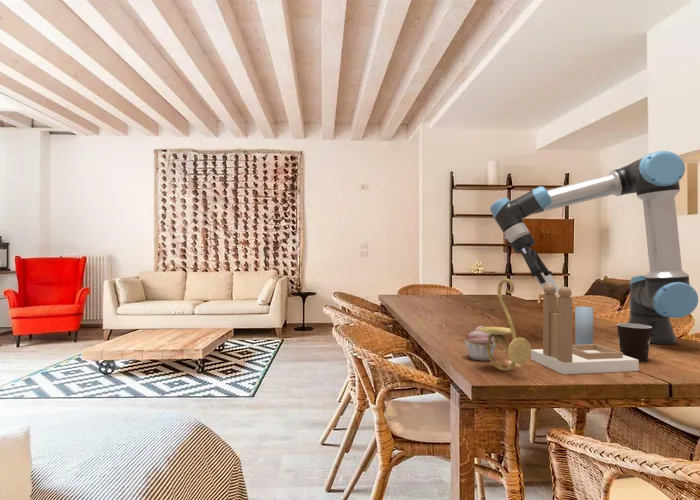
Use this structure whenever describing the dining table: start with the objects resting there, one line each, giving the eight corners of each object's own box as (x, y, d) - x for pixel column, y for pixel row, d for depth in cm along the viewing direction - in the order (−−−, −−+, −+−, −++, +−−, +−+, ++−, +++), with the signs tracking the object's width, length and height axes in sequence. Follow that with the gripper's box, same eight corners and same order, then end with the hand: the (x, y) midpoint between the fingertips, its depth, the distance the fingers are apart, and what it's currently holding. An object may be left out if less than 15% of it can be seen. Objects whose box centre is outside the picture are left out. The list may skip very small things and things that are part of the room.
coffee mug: (641, 364, 119) (641, 329, 119) (610, 357, 127) (610, 324, 127) (663, 359, 125) (663, 325, 125) (632, 353, 132) (632, 321, 132)
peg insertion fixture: (598, 356, 128) (598, 281, 128) (638, 371, 113) (638, 286, 113) (530, 359, 125) (530, 282, 125) (563, 374, 110) (563, 287, 110)
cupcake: (475, 363, 121) (475, 328, 121) (458, 355, 130) (458, 323, 130) (504, 361, 123) (504, 327, 123) (485, 353, 132) (485, 321, 132)
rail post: (585, 348, 138) (585, 306, 138) (596, 352, 133) (596, 308, 133) (571, 349, 138) (571, 306, 138) (582, 353, 133) (582, 308, 133)
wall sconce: (535, 376, 108) (535, 279, 108) (504, 379, 105) (504, 280, 105) (500, 362, 122) (500, 276, 122) (472, 365, 119) (472, 276, 119)
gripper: (518, 247, 160) (549, 297, 152) (500, 240, 139) (535, 297, 132) (537, 237, 156) (569, 287, 149) (521, 228, 136) (558, 286, 128)
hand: (553, 292), depth 140 cm, fingers open, 13 cm apart
